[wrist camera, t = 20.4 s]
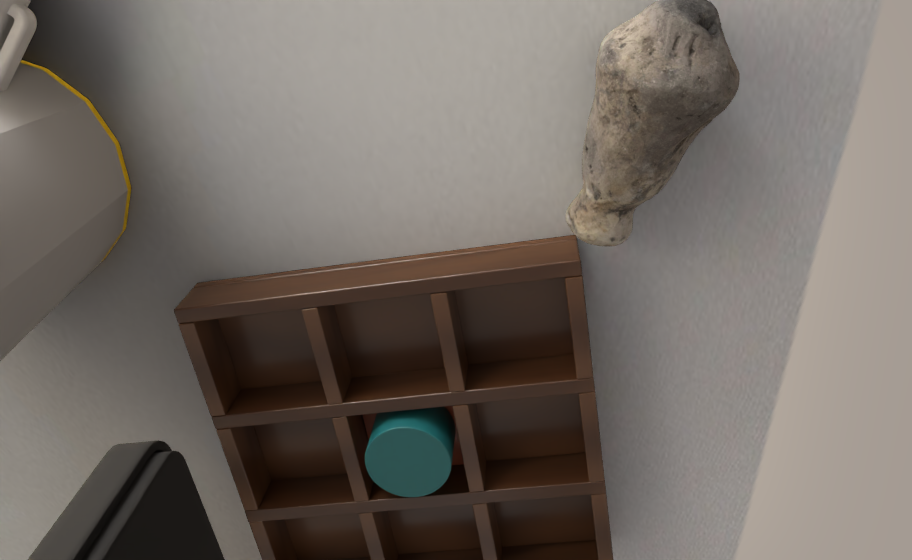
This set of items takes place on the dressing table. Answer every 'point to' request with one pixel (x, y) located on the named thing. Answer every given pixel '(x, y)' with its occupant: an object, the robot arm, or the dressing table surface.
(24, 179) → the soap bottle
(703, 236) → the dressing table surface
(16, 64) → the cable organizer
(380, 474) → the cylinder
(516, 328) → the grid
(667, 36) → the stone
